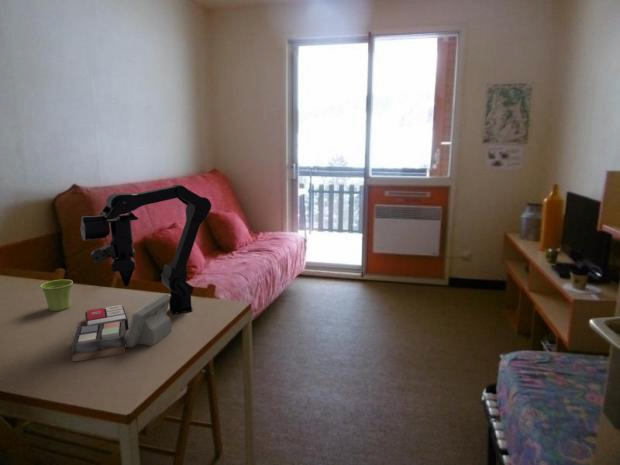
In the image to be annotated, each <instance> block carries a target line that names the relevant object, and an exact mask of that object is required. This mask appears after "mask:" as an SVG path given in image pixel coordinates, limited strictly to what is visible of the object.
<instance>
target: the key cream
mask: <svg viewBox="0 0 620 465" xmlns="http://www.w3.org/2000/svg"><path fill="white" fill-rule="evenodd" d="M93 340H97V333H91V334H84V335H80V336H79V339H78V343H81V342H87V341H93Z"/></svg>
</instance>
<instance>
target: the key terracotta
mask: <svg viewBox="0 0 620 465" xmlns="http://www.w3.org/2000/svg"><path fill="white" fill-rule="evenodd" d="M113 327H119V328H120V322H114V323H107V324H104V328H103V329H106V328H113Z"/></svg>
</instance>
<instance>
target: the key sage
mask: <svg viewBox="0 0 620 465" xmlns="http://www.w3.org/2000/svg"><path fill="white" fill-rule="evenodd" d="M119 335H120V333H119V327H113V328H106V329H103V330H102V339H106V338H112V337H119Z"/></svg>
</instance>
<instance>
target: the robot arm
mask: <svg viewBox="0 0 620 465" xmlns="http://www.w3.org/2000/svg"><path fill="white" fill-rule="evenodd" d="M174 199H177V200H178V201H180V202H181V203H182V204H184V205H185V206H186V207H185V218H186V219H185V224H184V227H183V229H182V232H181V235H180V238H179V242H178V244H177V247H176V250H175V253H174V256H173V258H172V261H171V262H170V263H169V265H168V264H164V266H163V269H162V273H161V274H160V276H161V278H160V279H161V283H162V284H163V286H165V287H166V288H167V289H168V291H169V293H170V294H169V297H170V301H169V305H168V308H169V310H170V311H171V313H172V315H173V314H179V313H180V314H181V313H186V312H193V307H192V294H193V291H194V290H195V289H194V288H195V287H193V285H191V284H189V282H187V279H188V263H189V260H190V257H191V253H192V251H193V248H194V244H195V241H196V240H197V239H196V238H197V235H198V232H199V230H200V227H201V225H202V223H203V222H204V221H205V220H206V219H207V218H208V216H209V214H210V212H211V209H212V203H211V201H210V199H209V198H207V197H205V196H204V197H203V196H200V195H198V194H197V193H195V192H193V191H192V190H190V189H188V188H187V187H186V186H184V185H183V184H182V185H181V184H173V185H170V186H165V187H160V188H156V189H151V190H147V191H146V190H145V191H141V192H121V193H120V192H118V193H117V192H116V193H115V192H113V193H111V194H110V195H108V196H107V198H106V200H105V206H104V207H103V209H102V210H101V211H100V213H99V215H91V216H88V215H84V216H81V221H80V227H79V229H80V234H81V238H82V241H91V240H93V241H94V240H99V239H106V238H107V236H109V235H110V237H111V238H110V239H111V240H110V242H109V244H106V245H103V246H101V247H98V248H97V249H94V250H92V251H91V253H90V255H91V258H92V261H94V263H95V264H96V265H97V264H99V263H101V262H102V261H105V260H107V259H110V258H111V260H112V261H111V263H110V270H111V272H112V273H113V272H114V273H115V272H118V273H119V276H120V278H121V281H122V283H123V287H129V285H130V283H131V279H132V276H133V273H134V270H136V260H135V259H134V258H136V250H135V248H134V242H133V241H134V238H133V229H132V221H137V220H139V217H138V216H136V215H135V214H134V213H133V211H135V210H138V209H139V208H141V207H143V206H148V205H152V204H156V203H160V202H164V201H169V200H174Z"/></svg>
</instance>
